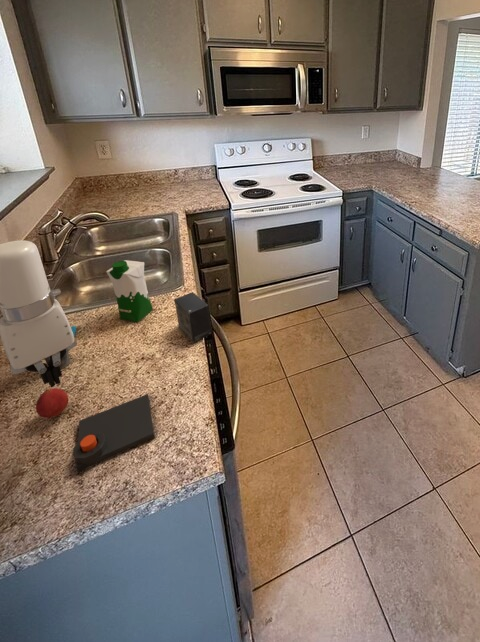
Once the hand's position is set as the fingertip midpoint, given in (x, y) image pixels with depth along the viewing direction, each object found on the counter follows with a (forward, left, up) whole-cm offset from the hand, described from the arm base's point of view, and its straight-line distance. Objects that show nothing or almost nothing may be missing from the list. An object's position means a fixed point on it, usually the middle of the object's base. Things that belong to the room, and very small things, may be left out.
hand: (53, 381), depth 73 cm
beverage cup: (-5, +27, -15) cm, 31 cm away
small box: (+30, +22, -15) cm, 40 cm away
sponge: (-8, +41, -15) cm, 44 cm away
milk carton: (+15, +41, -15) cm, 46 cm away
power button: (+4, -8, -12) cm, 15 cm away
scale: (+8, -4, -15) cm, 18 cm away
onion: (-4, +8, -15) cm, 17 cm away
